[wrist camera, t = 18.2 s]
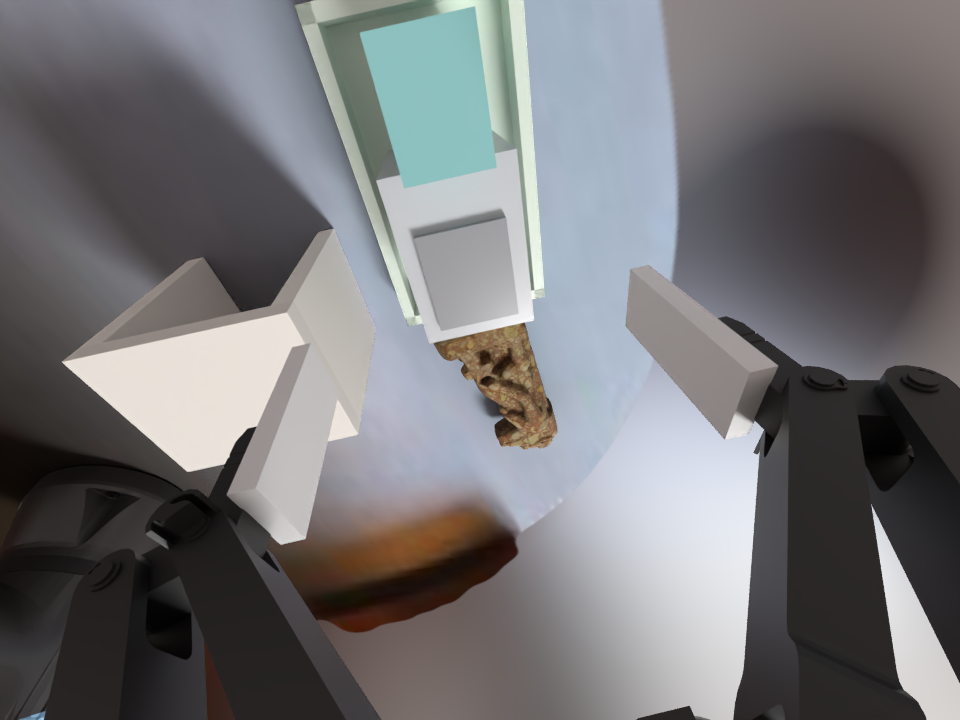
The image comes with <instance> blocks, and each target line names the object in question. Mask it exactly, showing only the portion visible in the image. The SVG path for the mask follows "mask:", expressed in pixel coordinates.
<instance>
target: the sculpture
mask: <svg viewBox="0 0 960 720" xmlns="http://www.w3.org/2000/svg"><path fill="white" fill-rule="evenodd" d="M434 345H435V347H436V349H437V350H438V352H439V353H440V355H441V356H442V357H443V358H444V359H446V360H448V361H452V360H455V359H459V360H460V361H461V362H462V361H463V363H464V366H463V367H462V369H461V372H462V374H463V376H464V377H465V378H466V379H467V380H471V379H473V378H474V380H475V382H476V384H477V386H478V388H479V390H480V391H481V392H482V393H483V394H484V395H486V396H487V397H489V398H490V399H492V400H493V401H495V402H497V403H498V404H499V407H498V408H499V411H500V413H502V414H503V416H504V417H505V418H503V419H502V420H500V421H499V422H497V423H496V424H495V433H496V436H497V438H498V440H499V443H500V445H501V446H502V447H503V446H520V447H522V448H523V449H528V448H534V447H538V448H544V447H546V446H548V445H550V443H551V442H552V438H553V437H555V436H556V434H557V425H556V420H555V417H554V412H553V409H552V405H551V403H550V401H549V399H548V398H547V397H546V395H545V391H544V388H543V384H542V381H541V378H540V374H539V371H538V368H537V365H536V361H535V357H534V354H533V351H532V348H531V345H530V342H529V338H528V333H527V330H526V326H525V322H524V323H520V324H515V325H511V326H506V327H502V328H497V329H493V330H488V331H484V332H479V333H475V334H471V335H466V336H462V337H457V338H453V339H448V340H444V341H439V342H435V343H434Z"/></svg>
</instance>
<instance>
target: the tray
mask: <svg viewBox="0 0 960 720" xmlns="http://www.w3.org/2000/svg"><path fill="white" fill-rule="evenodd" d="M294 6H295V8H296V11H297V14H298V17H299V20H300V22H301V25H302V28H303V31H304V34H305V37H306V39H307V42H308V45H309V48H310V51H311V54H312V56H313V59H314V62H315V65H316V68H317V71H318V73H319V76H320V79H321V82H322V85H323V87H324V90H325V93H326V96H327V99H328V102H329V104H330V107H331V110H332V113H333V116H334V119H335V121H336V124H337V127H338V130H339V133H340V135H341V138H342V141H343V144H344V147H345V150H346V152H347V155H348V158H349V161H350V164H351V167H352V169H353V172H354V175H355V178H356V181H357V183H358V186H359V189H360V192H361V195H362V198H363V200H364V203H365V206H366V209H367V212H368V215H369V217H370V220H371V223H372V226H373V229H374V231H375V234H376V237H377V240H378V243H379V246H380V248H381V251H382V254H383V257H384V260H385V263H386V265H387V268H388V271H389V274H390V277H391V280H392V282H393V285H394V288H395V291H396V294H397V296H398V299H399V302H400V305H401V308H402V311H403V313H404V316H405V319H406V322H407V325H408V326H413V325H417V324H422V323H423V322H422V319H421V316H420V313H419V310H418V307H417V304H416V301H415V298H414V295H413V292H412V289H411V286H410V283H409V280H408V276H407V273H406V270H405V267H404V264H403V261H402V258H401V255H400V252H399V249H398V246H397V243H396V240H395V237H394V234H393V231H392V228H391V225H390V222H389V219H388V215H387V212H386V209H385V206H384V203H383V200H382V197H381V194H380V191H379V188H378V185H377V182H376V179H377V177H378V175H379V172H380V170H381V167H382V165H383V162H384V160H385V157H386V155H387V152H388V151H389V150H393V148H392V144H391V141H390V138H389V134H388V131H387V127H386V124H385V120H384V117H383V113H382V110H381V106H380V103H379V99H378V96H377V92H376V89H375V85H374V82H373V78H372V75H371V71H370V68H369V64H368V61H367V57H366V54H365V51H364V47H363V44H362V40H361V37H360V32H365V31H369V30H373V29H378V28H382V27H386V26H391V25H395V24H399V23H404V22H408V21H413V20H417V19H421V18H426V17H430V16H434V15H439V14H443V13H447V12H452V11H456V10H460V9H465V8H469V7H473V6H475V10H476V17H477V25H478V32H479V40H480V47H481V54H482V62H483V69H484V77H485V84H486V91H487V99H488V106H489V114H490V121H491V128H492V130H493V131H494V132H495V133H497V134H498V135H499V136H501V137H502V138H503V139H505V140H506V141H507V142H509V143H510V144H511V145H513V146H514V147H515V148H517V156H518V166H519V176H520V186H521V195H522V205H523V215H524V225H525V235H526V245H527V255H528V265H529V275H530V284H531V294H532V299H536V298H540V297H545V295H544V280H543V266H542V252H541V238H540V224H539V210H538V196H537V181H536V167H535V153H534V139H533V125H532V111H531V97H530V82H529V68H528V54H527V40H526V26H525V12H524V0H314V1H310V2H305V3H301V4H296V5H294Z"/></svg>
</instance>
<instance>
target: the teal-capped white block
mask: <svg viewBox="0 0 960 720" xmlns="http://www.w3.org/2000/svg"><path fill="white" fill-rule="evenodd" d="M360 37H361V40H362V44H363V47H364V51H365V54H366V57H367V61H368V64H369V68H370V71H371V75H372V78H373V82H374V85H375V89H376V92H377V96H378V99H379V103H380V106H381V110H382V113H383V117H384V120H385V124H386V127H387V131H388V134H389V138H390V141H391V144H392V148H393V150H389V151H388V152H387V155H386V157H385V160H384V162H383V165H382V167H381V170H380V172H379V175H378V177H377V179H376V182H377V185H378V188H379V191H380V194H381V197H382V200H383V203H384V206H385V209H386V212H387V215H388V219H389V222H390V225H391V228H392V231H393V234H394V237H395V240H396V243H397V246H398V249H399V252H400V255H401V258H402V261H403V264H404V267H405V270H406V273H407V276H408V280H409V283H410V286H411V289H412V292H413V295H414V298H415V301H416V304H417V307H418V310H419V313H420V316H421V319H422V322H423V325H424V328H425V331H426V334H427V337H428V340H429V344H430V343H435V342H439V341H444V340H448V339H453V338H457V337H462V336H466V335H471V334H475V333H479V332H484V331H488V330H493V329H497V328H502V327H506V326H511V325H515V324H520V323H524V322H529V321H533V320H534V314H533V304H532V294H531V284H530V275H529V265H528V255H527V245H526V235H525V225H524V215H523V205H522V195H521V186H520V176H519V166H518V156H517V148H515V147H514V146H513V145H511V144H510V143H509V142H507V141H506V140H505V139H503V138H502V137H501V136H499V135H498V134H497V133H495V132H494V131H493V130H492V128H491V121H490V114H489V106H488V99H487V91H486V84H485V77H484V69H483V62H482V54H481V47H480V40H479V32H478V25H477V17H476V10H475V6H473V7H469V8H465V9H460V10H456V11H452V12H447V13H443V14H439V15H434V16H430V17H426V18H421V19H417V20H413V21H408V22H404V23H399V24H395V25H391V26H386V27H382V28H378V29H373V30H369V31H365V32H360Z"/></svg>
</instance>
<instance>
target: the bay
mask: <svg viewBox="0 0 960 720" xmlns="http://www.w3.org/2000/svg"><path fill="white" fill-rule="evenodd" d="M375 334H376V327H375V325H374V323H373V320H372V318H371V316H370V313H369V311H368V308H367V306H366V304H365V301H364V299H363V297H362V294H361V292H360V289H359V287H358V285H357V282H356V280H355V278H354V275H353V273H352V270H351V268H350V266H349V263H348V261H347V259H346V256H345V254H344V252H343V249H342V247H341V244H340V242H339V240H338V237H337V235H336V233H335V230H334V228H333V229H329V230H324V231H320V232H318V233H317V235H316V236H315V238H314V239H313V241H312V242H311V244H310V246H309V247H308V249H307V250H306V252H305V253H304V255H303V257H302V258H301V260H300V261H299V263H298V264H297V266H296V267H295V269H294V271H293V272H292V274H291V275H290V277H289V278H288V280H287V281H286V283H285V285H284V286H283V288H282V289H281V291H280V292H279V294H278V295H277V297H276V299H275V300H274V302H273V303H272V305H271V306H267V307H263V308H258V309H254V310H249V311H245V312H240V310H239V309H238V307H237V306H236V304H235V303H234V302H233V300H232V299H231V297H230V296H229V294H228V293H227V291H226V290H225V288H224V287H223V285H222V284H221V282H220V281H219V279H218V278H217V276H216V275H215V273H214V272H213V271H212V269H211V268H210V266H209V265H208V263H207V262H206V260H205V259H204V257H202V258H197V259H193V260H188V261H187V262H186V263H184V264H183V265H182V266H181V267H179V268H178V269H177V270H176V271H175V272H173V273H172V274H171V275H170V276H168V277H167V278H166V279H165V280H163V281H162V282H161V283H160V284H158V285H157V286H156V287H155V288H153V289H152V290H151V291H150V292H148V293H147V294H146V295H145V296H143V297H142V298H141V299H140V300H138V301H137V302H136V303H135V304H133V305H132V306H131V307H130V308H128V309H127V310H126V311H125V312H123V313H122V314H121V315H120V316H118V317H117V318H116V319H115V320H113V321H112V322H111V323H110V324H109V325H107V326H106V327H105V328H104V329H102V330H101V331H100V332H99V333H97V334H96V335H95V336H94V337H92V338H91V339H90V340H89V341H87V342H86V343H85V344H84V345H82V346H81V347H80V348H79V349H77V350H76V351H75V352H74V353H72V354H71V355H70V356H69V357H67V358H66V359H65V360H64V361H62V363H63V364H65V365H66V366H67V367H68V368H69V369H70V370H71V371H73V372H74V373H75V374H76V375H77V376H78V377H79V378H81V379H82V380H83V381H84V382H85V383H86V384H87V385H89V386H90V387H91V388H92V389H93V390H94V391H95V392H97V393H98V394H99V395H100V396H101V397H102V398H103V399H105V400H106V401H107V402H108V403H109V404H110V405H112V406H113V407H114V408H115V409H116V410H117V411H118V412H120V413H121V414H122V415H123V416H124V417H125V418H126V419H128V420H129V421H130V422H131V423H132V424H133V425H134V426H136V427H137V428H138V429H139V430H140V431H141V432H142V433H144V434H145V435H146V436H147V437H148V438H149V439H150V440H152V441H153V442H154V443H155V444H156V445H157V446H158V447H160V448H161V449H162V450H163V451H164V452H165V453H166V454H168V455H169V456H170V457H171V458H172V459H173V460H175V461H176V462H177V463H178V464H179V465H180V466H181V467H183V468H184V469H185V470H186V471H187V472H190V471H195V470H200V469H204V468H209V467H213V466H218V465H222V464H225V463H226V461H227V459H228V458H229V457H230V456H229V455H230V452H231V450H232V448H233V446H234V444H235V442H236V441H237V440H238V439H239V437H240V436H241V435H242V434H243V433H244V432H245V431H246V430H247V429H248V428H252V427H256V426H257V425H258V423H259V421H260V418H261V416H262V414H263V412H264V409H265V407H266V405H267V403H268V400H269V398H270V396H271V394H272V391H273V389H274V387H275V385H276V382H277V380H278V378H279V376H280V373H281V371H282V369H283V366H284V364H285V362H286V360H287V357H288V355H289V353H290V351H291V348H292V347H295V346H300V345H304V344H308V343H311V344H312V346H313V347H314V349H315V351H316V353H317V355H318V356H319V358H320V360H321V362H322V363H323V365H324V367H325V369H326V370H327V372H328V374H329V376H330V377H331V379H332V381H333V383H334V384H335V386H336V388H337V390H338V391H339V395H338V399H337V403H336V408H335V412H334V417H333V421H332V425H331V430H330V434H329V438H328V441H332V440H337V439H341V438H346V437H350V436H355V435H359V429H360V423H361V417H362V411H363V405H364V399H365V393H366V387H367V381H368V375H369V369H370V363H371V357H372V351H373V345H374V340H375Z"/></svg>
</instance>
